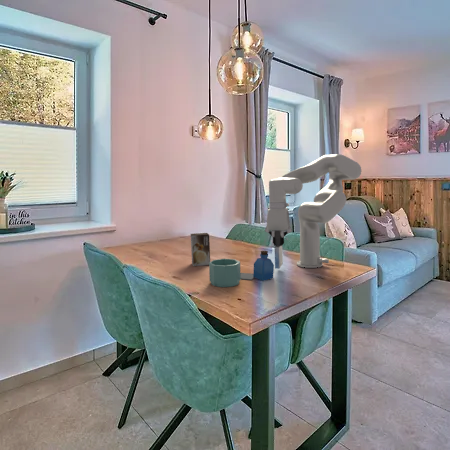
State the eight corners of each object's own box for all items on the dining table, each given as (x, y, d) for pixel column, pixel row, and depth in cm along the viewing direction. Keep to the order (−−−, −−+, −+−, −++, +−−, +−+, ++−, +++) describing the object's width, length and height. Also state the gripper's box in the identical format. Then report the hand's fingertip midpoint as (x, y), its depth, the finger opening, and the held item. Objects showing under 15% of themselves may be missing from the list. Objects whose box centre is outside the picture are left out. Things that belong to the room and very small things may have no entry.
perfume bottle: (262, 281, 150) (263, 254, 148) (253, 276, 155) (254, 250, 152) (273, 278, 153) (274, 252, 151) (263, 274, 158) (264, 248, 156)
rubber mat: (257, 274, 160) (257, 273, 160) (251, 280, 151) (251, 279, 151) (232, 272, 164) (232, 272, 164) (225, 278, 155) (225, 277, 155)
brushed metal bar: (283, 263, 168) (282, 226, 165) (279, 268, 159) (279, 229, 157) (278, 263, 169) (277, 226, 166) (274, 268, 160) (273, 229, 158)
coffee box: (208, 262, 186) (207, 232, 183) (210, 265, 179) (209, 234, 177) (191, 263, 184) (190, 233, 182) (192, 266, 178) (191, 235, 175)
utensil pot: (243, 279, 152) (242, 259, 151) (234, 288, 141) (233, 266, 140) (216, 277, 156) (216, 258, 155) (206, 285, 145) (205, 264, 144)
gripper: (296, 205, 161) (297, 244, 163) (262, 205, 166) (263, 243, 169) (294, 206, 154) (294, 247, 156) (258, 207, 159) (259, 246, 162)
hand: (278, 244), depth 163 cm, fingers closed on brushed metal bar, 2 cm apart
